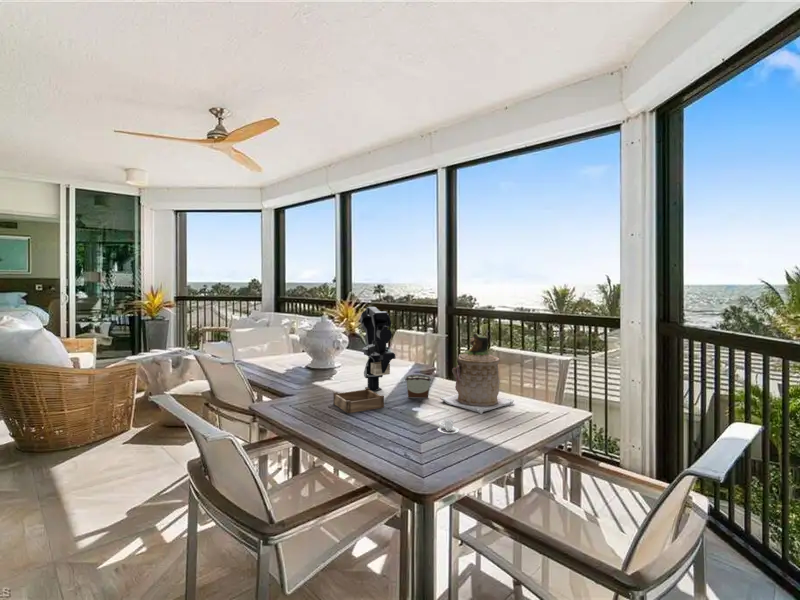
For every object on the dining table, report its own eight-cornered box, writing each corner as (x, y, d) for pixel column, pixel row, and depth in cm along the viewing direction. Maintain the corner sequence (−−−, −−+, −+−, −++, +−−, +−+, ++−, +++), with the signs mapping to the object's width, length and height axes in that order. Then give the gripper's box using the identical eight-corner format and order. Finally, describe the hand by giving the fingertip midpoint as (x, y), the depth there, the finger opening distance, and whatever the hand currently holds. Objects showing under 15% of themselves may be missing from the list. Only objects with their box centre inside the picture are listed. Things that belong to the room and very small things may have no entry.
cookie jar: (516, 404, 198) (517, 332, 197) (481, 415, 182) (482, 337, 180) (472, 393, 217) (473, 327, 215) (437, 402, 201) (438, 331, 199)
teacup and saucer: (437, 426, 169) (437, 415, 169) (457, 426, 169) (458, 416, 169) (438, 434, 161) (438, 423, 160) (460, 435, 160) (460, 423, 160)
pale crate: (370, 373, 209) (370, 362, 209) (383, 371, 212) (383, 361, 212) (376, 375, 204) (376, 365, 204) (389, 374, 207) (389, 363, 207)
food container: (431, 395, 212) (431, 374, 212) (431, 398, 206) (431, 377, 206) (406, 394, 214) (406, 373, 213) (404, 397, 208) (404, 376, 207)
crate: (333, 403, 197) (333, 392, 197) (368, 398, 206) (368, 387, 206) (347, 413, 184) (347, 401, 183) (384, 407, 192) (384, 396, 192)
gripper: (356, 337, 211) (356, 369, 212) (373, 342, 195) (373, 377, 196) (377, 335, 217) (377, 367, 218) (395, 340, 201) (395, 374, 202)
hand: (380, 371), depth 208 cm, fingers closed on pale crate, 6 cm apart
